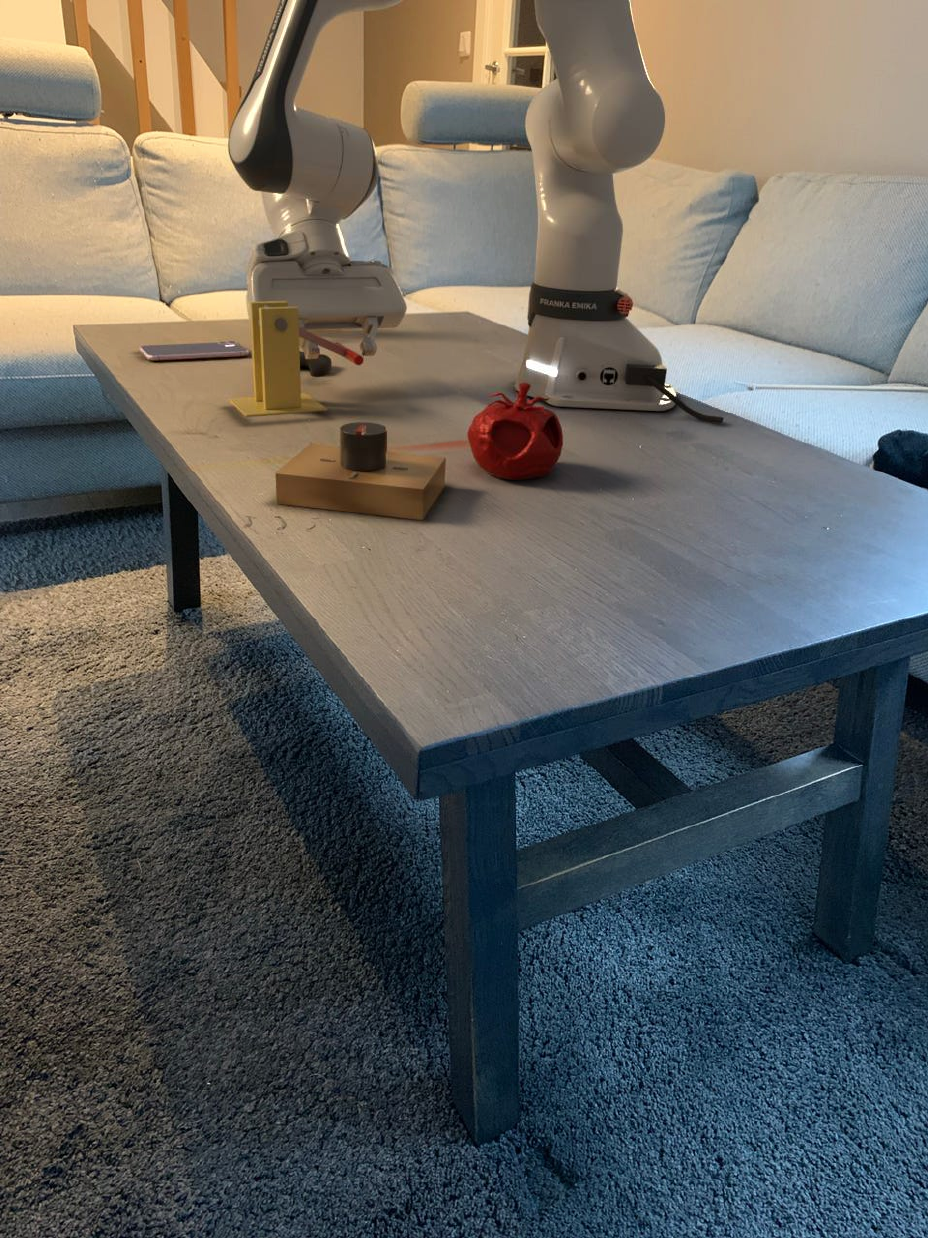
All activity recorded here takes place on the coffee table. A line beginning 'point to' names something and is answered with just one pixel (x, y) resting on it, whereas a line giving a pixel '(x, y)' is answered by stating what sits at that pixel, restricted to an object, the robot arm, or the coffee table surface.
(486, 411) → the red hollowed tomato
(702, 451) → the coffee table surface
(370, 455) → the dial knob
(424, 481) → the knob base block
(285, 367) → the yellow upright double-plate block
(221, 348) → the mobile phone
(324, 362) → the gaming controller
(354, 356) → the lever
